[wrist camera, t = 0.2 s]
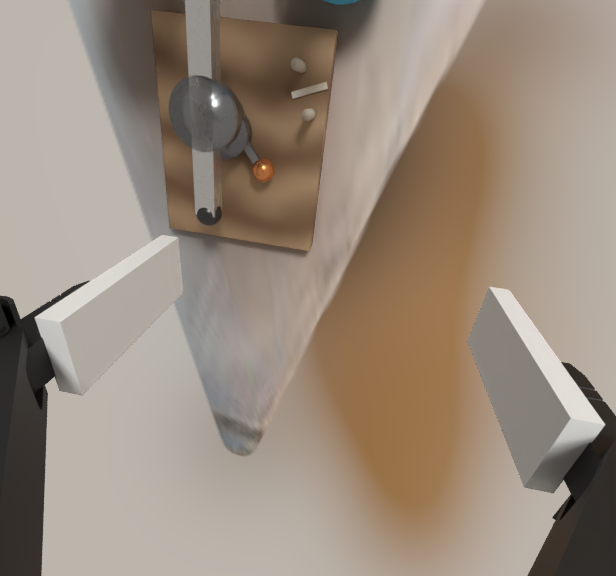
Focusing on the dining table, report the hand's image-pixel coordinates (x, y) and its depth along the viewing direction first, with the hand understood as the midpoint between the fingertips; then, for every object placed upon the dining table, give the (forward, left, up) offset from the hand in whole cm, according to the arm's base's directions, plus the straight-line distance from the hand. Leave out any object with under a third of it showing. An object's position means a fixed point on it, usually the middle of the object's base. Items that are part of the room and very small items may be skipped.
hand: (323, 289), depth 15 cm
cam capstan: (-5, -13, -26) cm, 29 cm away
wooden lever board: (-2, -13, -28) cm, 31 cm away
